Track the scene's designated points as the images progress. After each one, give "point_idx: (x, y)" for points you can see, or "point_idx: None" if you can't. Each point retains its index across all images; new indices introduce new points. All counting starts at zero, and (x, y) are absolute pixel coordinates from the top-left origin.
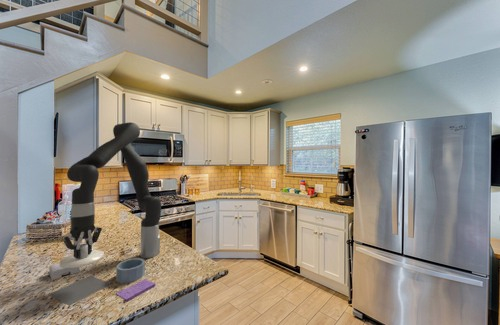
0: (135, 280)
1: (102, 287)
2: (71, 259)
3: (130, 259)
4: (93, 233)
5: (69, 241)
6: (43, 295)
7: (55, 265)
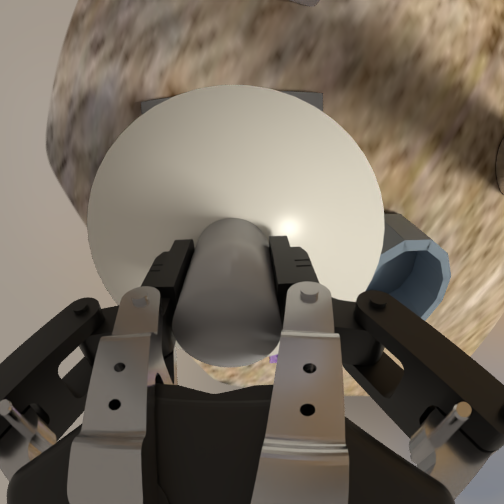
0: None
1: None
2: (159, 211)
3: (439, 251)
4: (432, 374)
5: (54, 429)
6: (141, 74)
7: None
